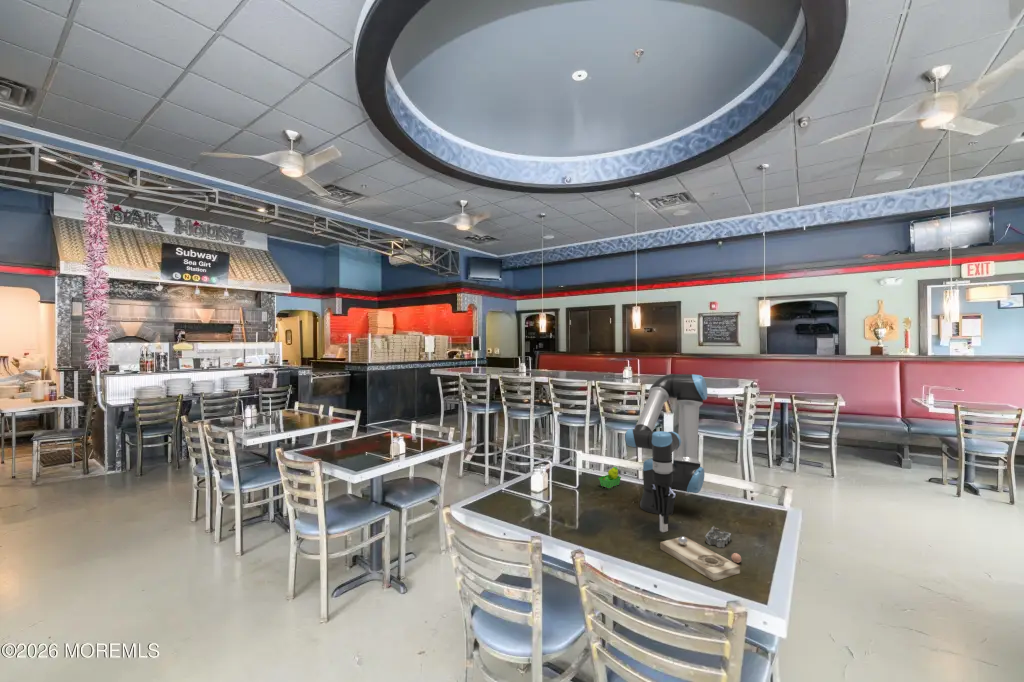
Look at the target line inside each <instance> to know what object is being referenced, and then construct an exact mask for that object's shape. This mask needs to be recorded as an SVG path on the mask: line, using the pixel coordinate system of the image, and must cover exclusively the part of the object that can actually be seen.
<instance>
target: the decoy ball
mask: <svg viewBox="0 0 1024 682" xmlns="http://www.w3.org/2000/svg"><path fill="white" fill-rule="evenodd" d="M730 557H731V561H732V562H734V563H736V564H739V563H741V562H742V557H741V555H740V554H739V553H737V552H734V553H731V556H730Z"/></svg>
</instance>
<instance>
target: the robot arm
mask: <svg viewBox="0 0 1024 682" xmlns="http://www.w3.org/2000/svg"><path fill="white" fill-rule="evenodd" d="M669 399H676V403H677V404H678V405H679V413H678V414H679V415H678V433H677V432H675V431H661V430H660V431H654V429H655V426H656V425H657V424H656V423H657V422H658V419H659V416H660V415H661V412H662V409H663V407H664V404H665V403H666V402H668V400H669ZM707 399H708V387H707V382H706V379H705V377H704V376H702V375H701V374H694V373H692V374H691V373H689V374H688V373H687V374H685V373H684V374H683V373H681V374H674V373H669V374H666V375H663V376H662V377H660V378H658V379H656V381H655V382H654V383H653V384H652V385H651V386H650V387H649V390H648V398H647V400H646V402H645V404H644V406H643V408H642V409H643V410H642V411H641V413H640V416H639V418H638V421H637V422H636V425H635V427H634V428H628V429H627V430H626V431H625V434H624V436H625V437H624V438H625V439H624V440H625V443H626V445H627V446H629V447H633V448H641V449H649V450H651V451H652V452H651V453H652V455H651V456H652V458H648V459H645V460H644V462H643V463H642V466H643V467H642V468H643V469H642V474H643V475H642V478H643V479H642V480H643V491H642V496H641V499H640V501H639V505H640V506H639V508H640V509H641V510H643V511H644V512H648V513H652V514H658V521H659V531H660V532H661V533H665V532H668V531H669V526H668V525H669V522H670V521H669V519H670V518H669V517H670V516H672V515H674V514H673V513H674V510H675V508H674V507H675V501H676V498H677V497H678V493H677V492H674V491H679V492H680V491H681V492H686V493H688V494H689V493H692V494H698V493H700V491H701V490H702V488H703V485H704V481H705V468H704V467H702V466H701V462H700V460H699V459H698V446H699V445H698V443H699V419H700V407H701V406H702V405H704V401H706V400H707ZM674 451H677V452H676V453H677V454H676V455H677V456H676V457H675V458H673V452H674Z"/></svg>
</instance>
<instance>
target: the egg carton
mask: <svg viewBox="0 0 1024 682" xmlns="http://www.w3.org/2000/svg"><path fill="white" fill-rule="evenodd" d="M731 534H732V533H730V532H726V531H724V530H723V531H720V528H718V527H715V525H712V527H710V530H709V531H708V532H707V533H706V534H705V536H704V539H705V543H707V545H710V546H711V545H714V546H716V547H717V548H725V545H728V542H731Z"/></svg>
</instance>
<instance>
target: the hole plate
mask: <svg viewBox="0 0 1024 682" xmlns="http://www.w3.org/2000/svg"><path fill="white" fill-rule="evenodd" d="M684 537H686V536H684ZM678 539H679V537H676V538H672V539H667V540H664V541H660V542H659V543H660V544H659V545H660V546H659V547H660V550H662V551H663V552H665V553H667V554H668V555H669V556H671V557H674V558H675V559H676V560H678V561H680V562H681V563H683V564H685V565H686V566H688V567H689V568H691V569H693V570H695V571H696V572H698V573H699V574H702V575H703V576H705V577H706V578H707V579H709V580H711V581H713V582H716V581H720V580H722V579H726V578H729V577H732V576H735V575H739V574H741V567H740V566H741V565H740V564H738V563H735V562H733V560H731V559H730V560H729V559H728V558H726V557H724V556H722V555H720V554H719V553H716V552H715V551H713V550H711V549H709V548H707V547H705V546H703V545H701V544H700V543H697V542H696V541H695V540H692V539H690V538H689V537H686V539H687V544H686V545H684V546H683V545H681V544H680V543H679V541H678Z"/></svg>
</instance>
